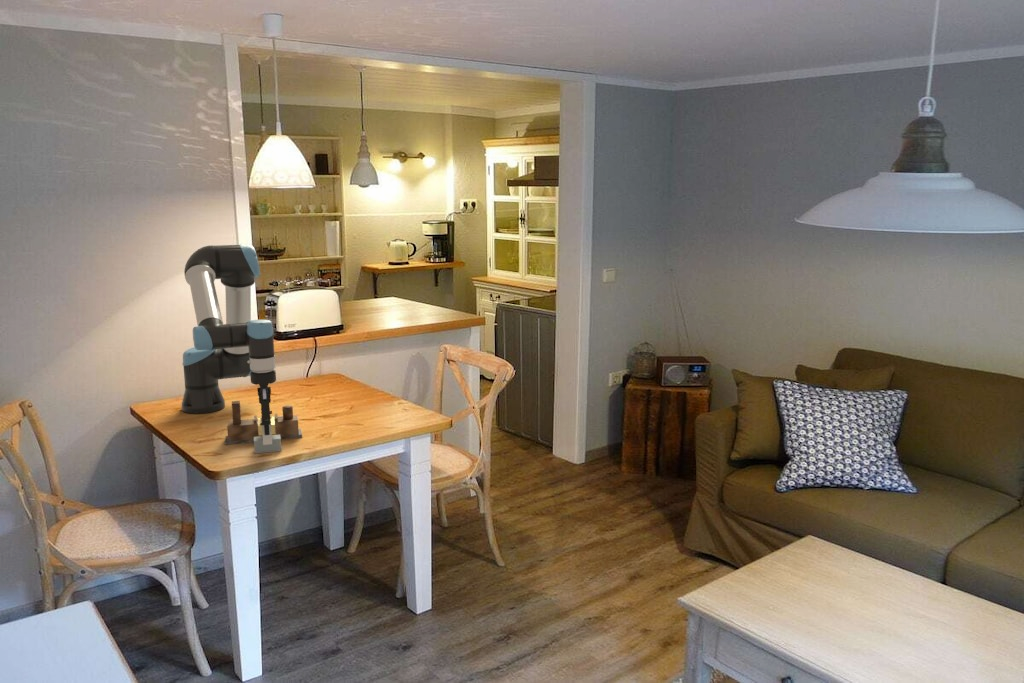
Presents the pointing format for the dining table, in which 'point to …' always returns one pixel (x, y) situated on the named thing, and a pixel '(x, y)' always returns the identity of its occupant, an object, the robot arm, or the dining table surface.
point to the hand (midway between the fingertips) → (267, 439)
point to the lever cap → (271, 425)
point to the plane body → (249, 428)
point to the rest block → (267, 448)
